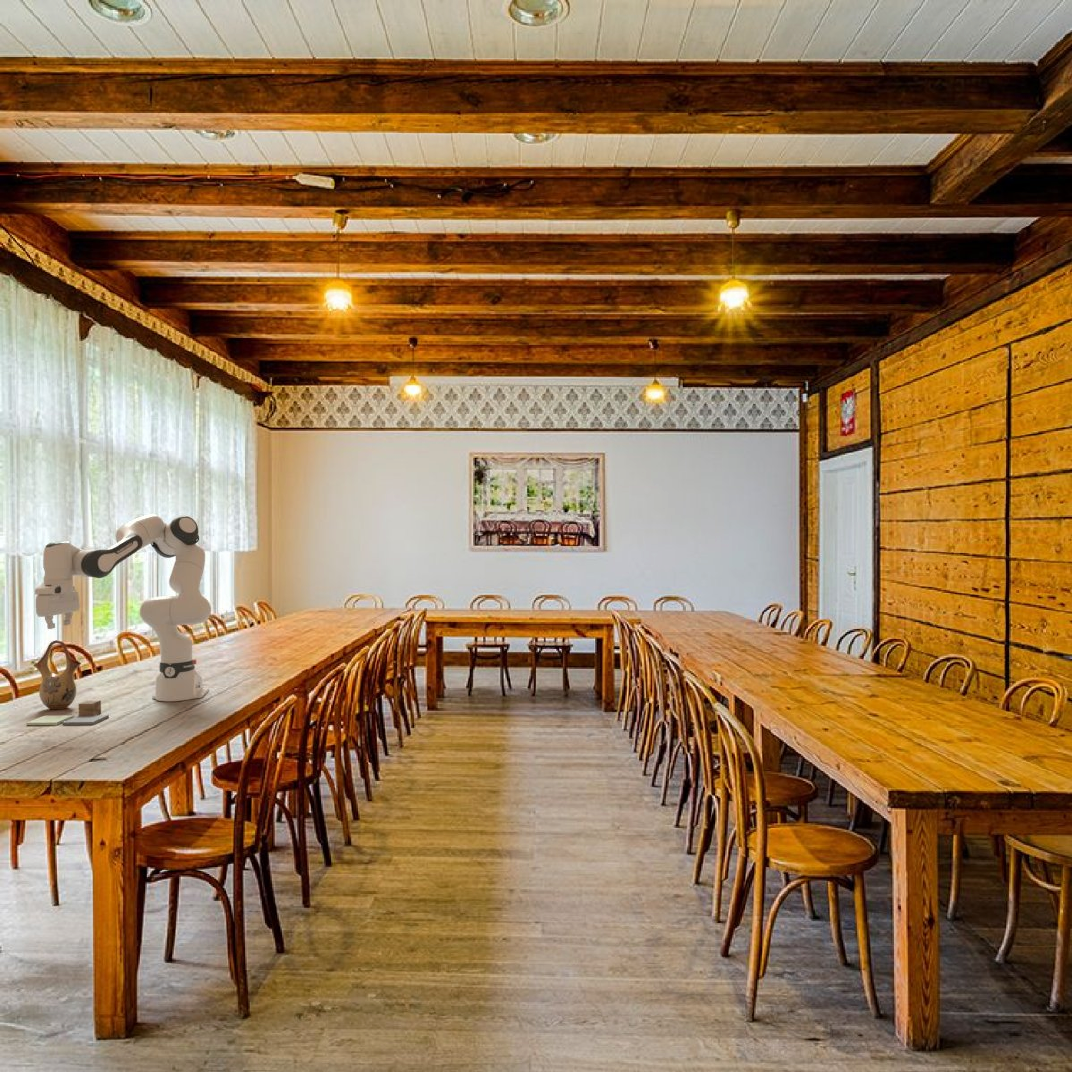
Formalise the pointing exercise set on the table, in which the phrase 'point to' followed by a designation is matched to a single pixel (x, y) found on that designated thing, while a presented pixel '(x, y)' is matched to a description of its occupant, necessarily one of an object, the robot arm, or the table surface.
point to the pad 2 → (85, 719)
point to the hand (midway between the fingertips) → (59, 626)
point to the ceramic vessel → (57, 681)
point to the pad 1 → (50, 720)
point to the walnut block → (90, 707)
